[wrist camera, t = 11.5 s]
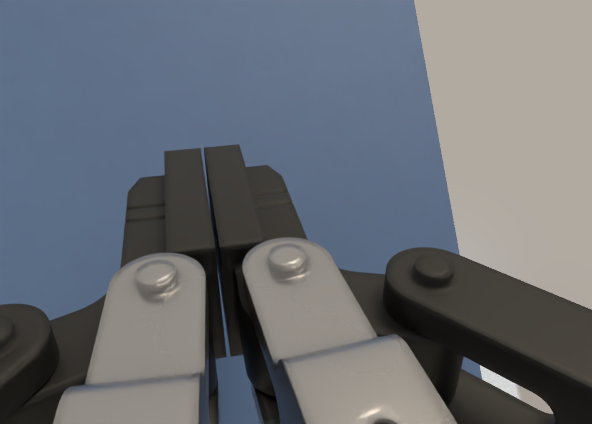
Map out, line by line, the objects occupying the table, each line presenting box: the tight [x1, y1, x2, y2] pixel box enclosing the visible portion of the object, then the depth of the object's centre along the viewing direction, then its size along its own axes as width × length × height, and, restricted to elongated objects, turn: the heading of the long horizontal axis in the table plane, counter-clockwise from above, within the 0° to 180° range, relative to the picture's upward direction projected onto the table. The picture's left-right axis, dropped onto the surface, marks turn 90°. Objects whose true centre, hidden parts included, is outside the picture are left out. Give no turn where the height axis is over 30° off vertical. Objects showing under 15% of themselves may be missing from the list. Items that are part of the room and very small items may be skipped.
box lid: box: [0, 0, 482, 424], centre depth 14 cm, size 16×13×1 cm
